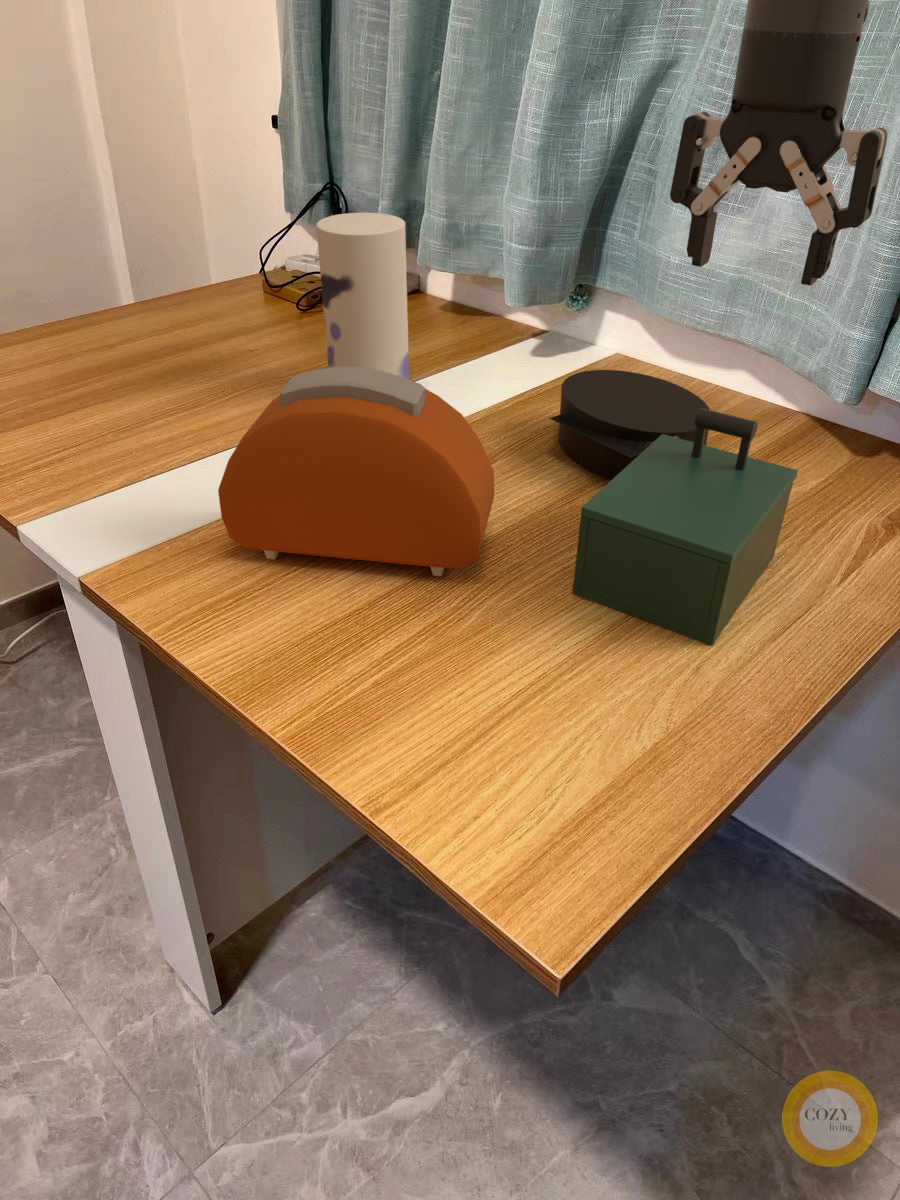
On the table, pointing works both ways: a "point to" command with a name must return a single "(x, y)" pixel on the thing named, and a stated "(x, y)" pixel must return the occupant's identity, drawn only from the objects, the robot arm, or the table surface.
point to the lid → (695, 491)
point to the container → (365, 291)
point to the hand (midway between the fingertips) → (753, 273)
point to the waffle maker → (621, 417)
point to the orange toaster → (360, 474)
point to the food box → (671, 576)
